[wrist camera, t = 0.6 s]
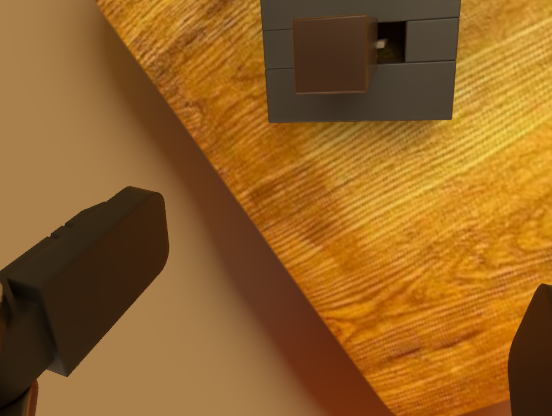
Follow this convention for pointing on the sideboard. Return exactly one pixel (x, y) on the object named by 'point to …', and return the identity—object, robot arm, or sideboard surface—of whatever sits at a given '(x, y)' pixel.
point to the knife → (335, 53)
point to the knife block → (390, 71)
